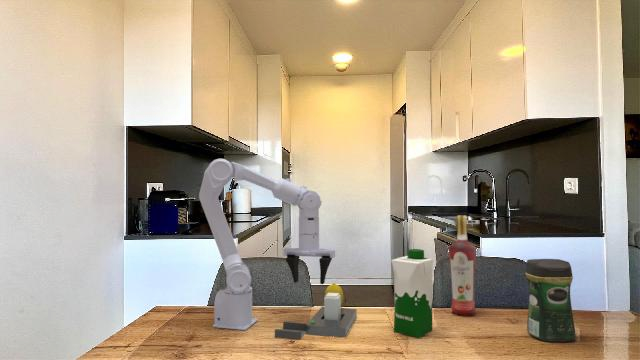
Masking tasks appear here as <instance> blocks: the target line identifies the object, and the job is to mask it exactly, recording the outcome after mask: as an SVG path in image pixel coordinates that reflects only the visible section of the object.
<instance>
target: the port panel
mask: <svg viewBox="0 0 640 360" xmlns="http://www.w3.org/2000/svg"><path fill="white" fill-rule="evenodd" d="M357 312H358V311H357V308H348V307H347V308H346V307H341V321H338V320H325V319H324V306H321V307H320V308H319V310H318V311H317V312H316V313H315V314H314V315H313V317H312V318H311V319H310V320H309V321H308V322H306V323H307V325H306V333H305V335H308V336H309V335H311V336H320V337H321V336H322V337H330V336H332V337H333V336H334V337H333V338H341V337H346V336H348V335H349V333H350V331H351V329H352V327H353V325H354V323H355V321H354V320H356V319H357V318H358V317H357V314H358V313H357ZM353 322H354V323H353ZM352 324H353V325H352ZM351 326H352V327H351ZM350 328H351V329H350ZM349 330H350V331H349ZM348 332H349V333H348ZM347 334H348V335H347ZM346 338H347V337H346Z"/></svg>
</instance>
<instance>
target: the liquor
mask: <svg viewBox="0 0 640 360" xmlns="http://www.w3.org/2000/svg"><path fill="white" fill-rule="evenodd" d="M467 219H468V217H467V215H456V223H457V233H456V242H454V243H452V244H451V245H449V246H448V252H449V254H448V255H449V270H450V281H451V303H452V304H451V307H450V309H451V310H452V311H453V312H454V314H455V315H458V316H463V317H464V316H465V317H466V316H467V317H469V316H472V315H473V314H474V313H475V312H477V309H476V306H475V305H476V304H475V296H476V295H475V293H476V292H475V290H476V289H475V287H476V286H475V284H476V266H477V261H476V260H477V259H476V258H477V248H476V246H474V245H473V244H471V243H469V241H468V233H467V231H468V230H467V223H468V222H467V221H468V220H467Z"/></svg>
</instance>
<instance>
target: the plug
mask: <svg viewBox="0 0 640 360" xmlns="http://www.w3.org/2000/svg"><path fill="white" fill-rule="evenodd" d="M323 300H324V301H323V307H324V319H325V320H338V321H341V308H342V304H341V295H339V293H328V294H327V295H326V297H325V296H324V298H323Z"/></svg>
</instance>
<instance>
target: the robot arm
mask: <svg viewBox="0 0 640 360" xmlns="http://www.w3.org/2000/svg"><path fill="white" fill-rule="evenodd" d="M231 179H233V182H238V181H245V182H249V183H251V184H253V185H255V186H258V187H261V188H264V189H266V190H269V191H271V193H272V196H273V197H274V198H275V199H278V200H280V201H282V202H284V203H287V204H289V205H291V206H293V207H296V206H297V207H298V210H299V211H298V213H299V214H298V247H289V248H288V247H287V248H286V247H285V248H283V253H282V254H283V256H284V257H285V262H286V263H287V265H288V267H289V269H290V271H291V272H290V273H291V276H292V280H293V283H295V284H296V283H298V282H299V279H300V278H299V276H300V275H299V266H300V265H299V262H300V257H317V258H319V262H318V263H319V269H320V277H319V279H320V280H319V281H320V282H319V283H320V285H324V284H325V282H326V276H327V272H328V269H329V266H330V264H331V262H332V259H334V258H335V257H336V249H331V248H330V249H328V248H320V217H319V216H320V215H319V214H320V212H319V211H320V210H319V209H320V208H321V206H322V202H323V201H322V200H321V196H320V195H319V194H318V193H317V192H316V191H314V190H310V189H309V190H308V189H307V188H308V187H307V186H305V185H303V186H301V185H299V184H296V183H294V182H292V179H291V178H286V179H285V178H280V179H279V178H278V179H277V180H276V179H274V178H271V177H269V176H267V175H265V174H263V173H261V172H258V171H257V170H255V169H252V168H251V167H249V166H246V165H244V164H240V163H237V162H234V161H231V162H230V161H228V160H227V159H224V158H217V159H213V161H211V162H210V163H209V165H208V166H207V168H206V169H205V171H204V173H203V178H202V183H201V185H200V190H199V194H198V198H199V202H200V203H201V207H202V209H203V212H204V214H205V218H206V220H207V222H208V225H209V227H210V230H211V233H212V237H213V238H214V240H215V244H216V247H217V248H218V251H219V254H220V257H221V259H222V260H221V261H222V264H223V266H224V270H225V273H226V280H225V281H226V282H225V284H226V287H225V288H224V289H220V290H218V292H217V293H216V295H215V298H214V301H213V302H214V304H213V305H214V306H213V307H214V308H213V309H214V312H213V313H214V319H213V320H214V323H213V325H212V328H218V329H219V328H220V329H228V330H239V331H240V330H241V331H247V330H248V329H249V328H250V327H251V326H253V325H254V324H255V323H257V322H258V321H259V319H258V318H254V317H253V287H252V285H251V284H252V276H251V273H250V272H251V271H250V268H249V266H248V265H247V264H246V263H245V262H243V260H242V258H241V255H240V252H239V250H238V247H237V244H236V242H235V239H234V237H233V234H232V230H231V229H230V226H229V224H228V220H227V218H226V215H225V212H224V211H223V207H222V204H221V202H220V200H219V196H220V195H221V193H222V192H223V189H224V187H225V186H226V185H228V183H229V182H230V181H231Z"/></svg>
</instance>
